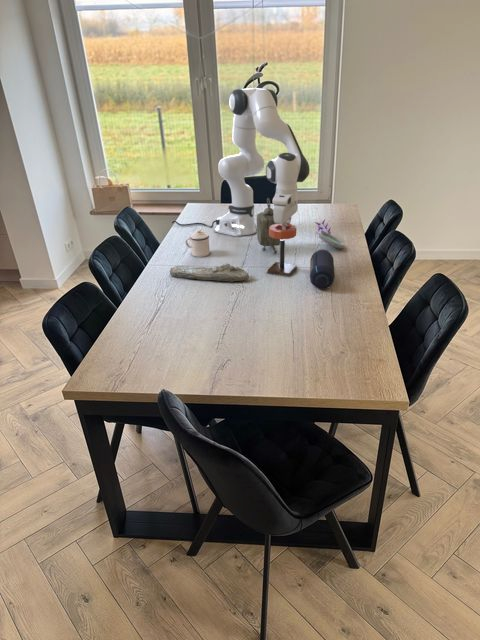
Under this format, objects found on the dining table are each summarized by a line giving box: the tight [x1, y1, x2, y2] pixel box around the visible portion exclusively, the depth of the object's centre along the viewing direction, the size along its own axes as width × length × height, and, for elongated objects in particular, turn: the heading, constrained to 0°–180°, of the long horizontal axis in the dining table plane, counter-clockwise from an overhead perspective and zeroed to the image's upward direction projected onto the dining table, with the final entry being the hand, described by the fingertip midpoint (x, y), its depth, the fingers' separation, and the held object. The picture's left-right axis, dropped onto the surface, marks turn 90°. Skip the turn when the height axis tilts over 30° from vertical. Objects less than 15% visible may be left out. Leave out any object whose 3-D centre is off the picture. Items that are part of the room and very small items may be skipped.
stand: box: [267, 239, 297, 277], centre depth 212 cm, size 10×10×14 cm
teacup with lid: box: [184, 229, 211, 258], centre depth 231 cm, size 12×9×12 cm
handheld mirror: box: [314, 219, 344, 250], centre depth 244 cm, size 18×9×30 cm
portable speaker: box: [309, 248, 336, 290], centre depth 204 cm, size 25×10×10 cm, turn 175°
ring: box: [269, 223, 297, 240], centre depth 206 cm, size 11×11×3 cm
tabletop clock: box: [256, 197, 281, 255], centre depth 230 cm, size 14×9×25 cm, turn 9°
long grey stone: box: [169, 262, 250, 283], centre depth 209 cm, size 35×5×10 cm
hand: (286, 228), depth 209 cm, fingers closed on ring, 2 cm apart
